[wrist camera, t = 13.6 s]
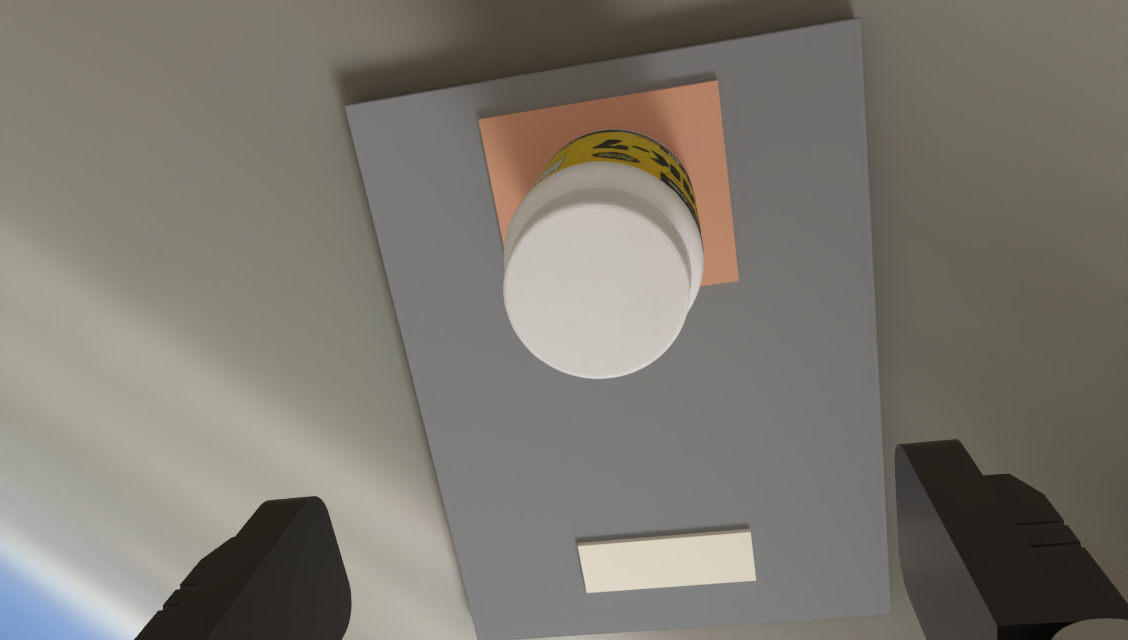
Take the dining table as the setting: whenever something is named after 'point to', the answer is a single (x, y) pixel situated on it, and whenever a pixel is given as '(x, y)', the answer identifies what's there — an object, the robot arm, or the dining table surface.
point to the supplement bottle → (604, 255)
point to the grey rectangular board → (681, 374)
